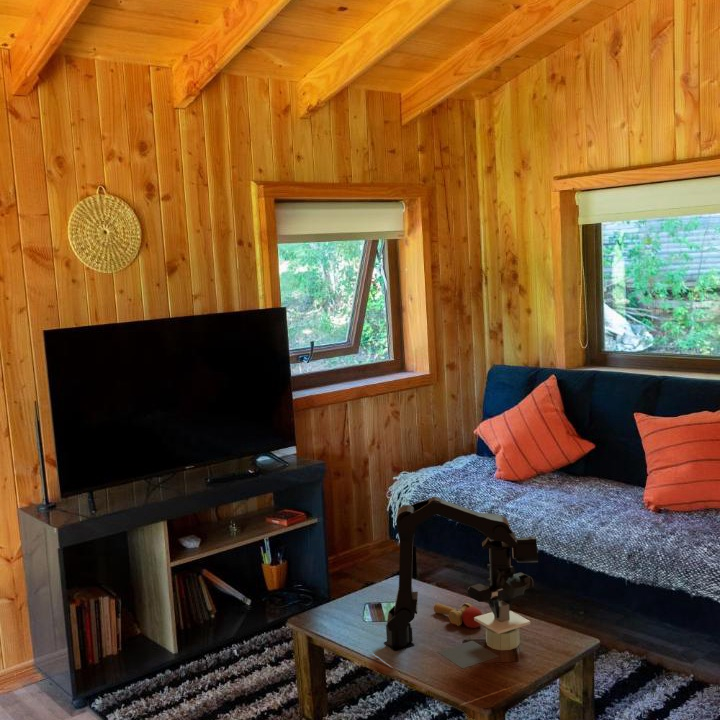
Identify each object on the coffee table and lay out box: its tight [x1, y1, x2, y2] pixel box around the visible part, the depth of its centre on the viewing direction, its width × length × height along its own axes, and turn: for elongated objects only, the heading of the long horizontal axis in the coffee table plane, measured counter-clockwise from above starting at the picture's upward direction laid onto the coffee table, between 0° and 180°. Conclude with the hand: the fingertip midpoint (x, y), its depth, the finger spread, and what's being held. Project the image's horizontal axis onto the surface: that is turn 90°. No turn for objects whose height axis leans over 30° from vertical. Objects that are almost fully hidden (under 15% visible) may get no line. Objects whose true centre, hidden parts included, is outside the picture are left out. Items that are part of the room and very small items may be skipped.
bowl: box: [485, 627, 521, 651], centre depth 251 cm, size 9×9×5 cm
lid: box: [474, 600, 531, 634], centre depth 250 cm, size 11×11×5 cm
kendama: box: [433, 602, 483, 629], centre depth 268 cm, size 8×6×18 cm
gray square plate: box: [437, 640, 500, 669], centre depth 246 cm, size 12×12×1 cm
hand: (501, 616), depth 250 cm, fingers closed on lid, 3 cm apart
